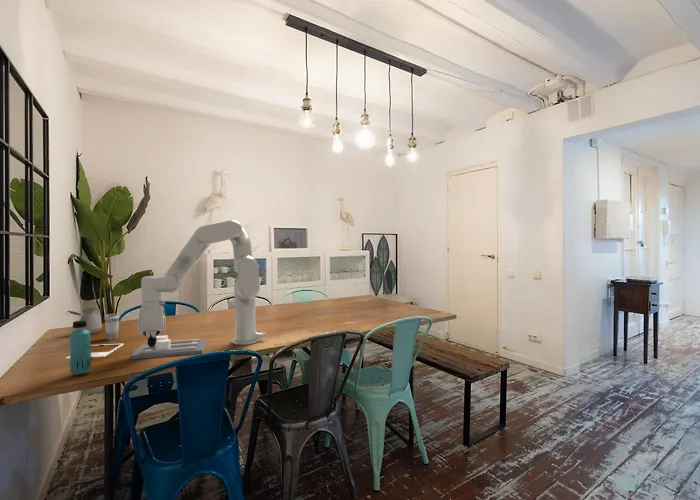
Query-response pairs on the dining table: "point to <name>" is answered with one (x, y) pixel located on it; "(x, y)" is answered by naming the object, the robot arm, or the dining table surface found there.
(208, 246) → the robot arm
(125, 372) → the dining table surface
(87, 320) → the coffee pot
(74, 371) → the beverage bottle
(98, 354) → the photo frame
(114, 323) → the cup
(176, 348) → the switch panel
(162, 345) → the switch tab
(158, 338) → the switch tab
